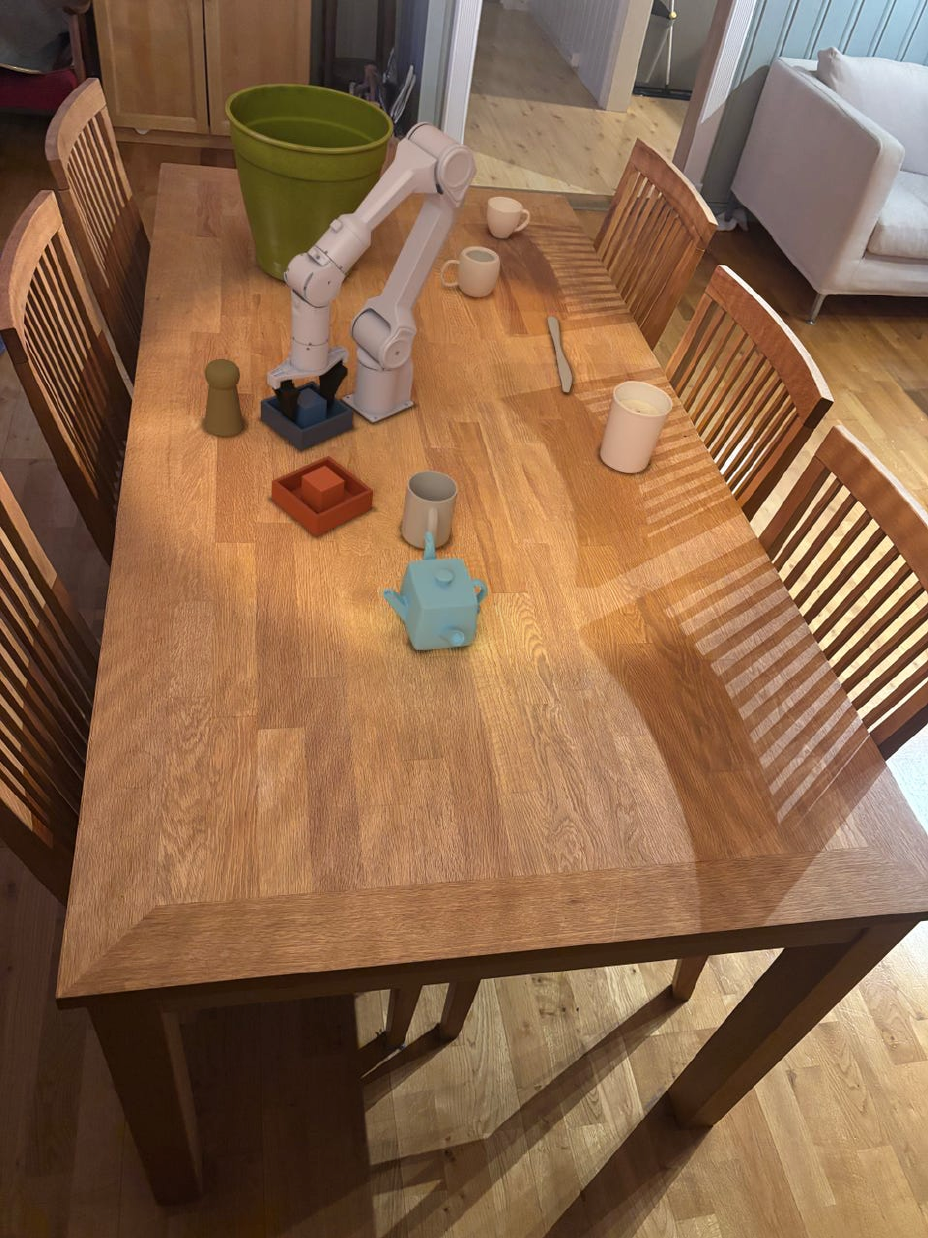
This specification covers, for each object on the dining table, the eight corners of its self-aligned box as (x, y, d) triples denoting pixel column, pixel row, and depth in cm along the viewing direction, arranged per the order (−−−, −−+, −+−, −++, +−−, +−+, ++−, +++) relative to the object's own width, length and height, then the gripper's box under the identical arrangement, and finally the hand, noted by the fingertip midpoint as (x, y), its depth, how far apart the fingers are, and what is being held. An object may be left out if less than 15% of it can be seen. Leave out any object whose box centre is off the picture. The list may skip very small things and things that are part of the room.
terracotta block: (323, 488, 146) (325, 465, 143) (343, 504, 144) (344, 480, 141) (300, 499, 143) (301, 475, 140) (320, 515, 141) (321, 491, 138)
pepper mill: (235, 439, 152) (234, 378, 144) (198, 430, 152) (194, 369, 144) (249, 419, 156) (248, 358, 148) (213, 410, 156) (210, 349, 148)
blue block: (308, 410, 159) (309, 387, 156) (325, 423, 157) (326, 400, 154) (286, 419, 157) (287, 395, 153) (304, 432, 155) (305, 409, 152)
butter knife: (561, 316, 194) (547, 314, 193) (575, 393, 175) (559, 390, 175) (560, 319, 194) (546, 316, 194) (574, 396, 176) (558, 393, 175)
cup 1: (447, 519, 146) (456, 472, 139) (452, 565, 139) (461, 517, 133) (399, 516, 145) (406, 468, 138) (401, 562, 138) (408, 513, 131)
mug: (489, 281, 201) (495, 244, 196) (499, 302, 196) (506, 265, 190) (433, 279, 198) (438, 242, 192) (441, 300, 192) (447, 263, 187)
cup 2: (480, 224, 220) (485, 195, 215) (522, 228, 222) (528, 198, 217) (486, 240, 214) (491, 210, 210) (529, 243, 217) (535, 214, 212)
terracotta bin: (327, 473, 149) (328, 455, 147) (371, 508, 145) (373, 490, 142) (271, 499, 143) (271, 480, 140) (316, 536, 139) (317, 518, 136)
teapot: (496, 674, 126) (510, 620, 118) (390, 684, 122) (398, 629, 115) (462, 578, 137) (473, 523, 130) (364, 584, 133) (370, 529, 126)
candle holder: (658, 454, 166) (680, 394, 158) (642, 483, 159) (663, 422, 151) (605, 434, 168) (624, 373, 160) (587, 462, 161) (605, 400, 153)
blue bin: (312, 398, 162) (313, 380, 160) (352, 428, 158) (353, 410, 156) (260, 419, 156) (260, 400, 154) (300, 451, 152) (301, 432, 150)
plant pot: (211, 235, 197) (206, 82, 177) (349, 228, 209) (359, 84, 188) (254, 309, 180) (253, 149, 159) (402, 296, 191) (418, 146, 171)
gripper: (329, 311, 152) (326, 386, 161) (254, 336, 143) (255, 414, 153) (359, 331, 149) (354, 406, 158) (284, 358, 141) (283, 436, 150)
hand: (307, 411), depth 156 cm, fingers open, 7 cm apart
